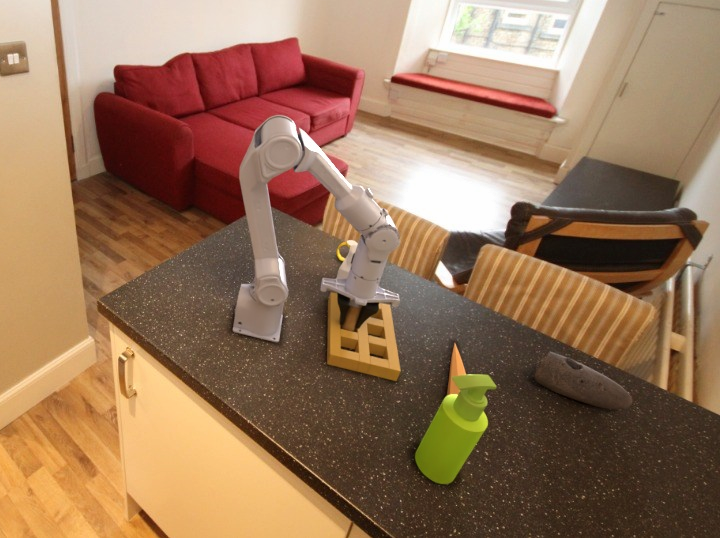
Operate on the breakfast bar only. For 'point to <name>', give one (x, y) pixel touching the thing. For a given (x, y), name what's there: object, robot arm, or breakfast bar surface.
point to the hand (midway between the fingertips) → (349, 323)
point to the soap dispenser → (455, 429)
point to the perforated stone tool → (581, 383)
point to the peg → (352, 316)
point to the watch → (348, 243)
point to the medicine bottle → (347, 263)
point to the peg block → (363, 343)
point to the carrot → (455, 371)
